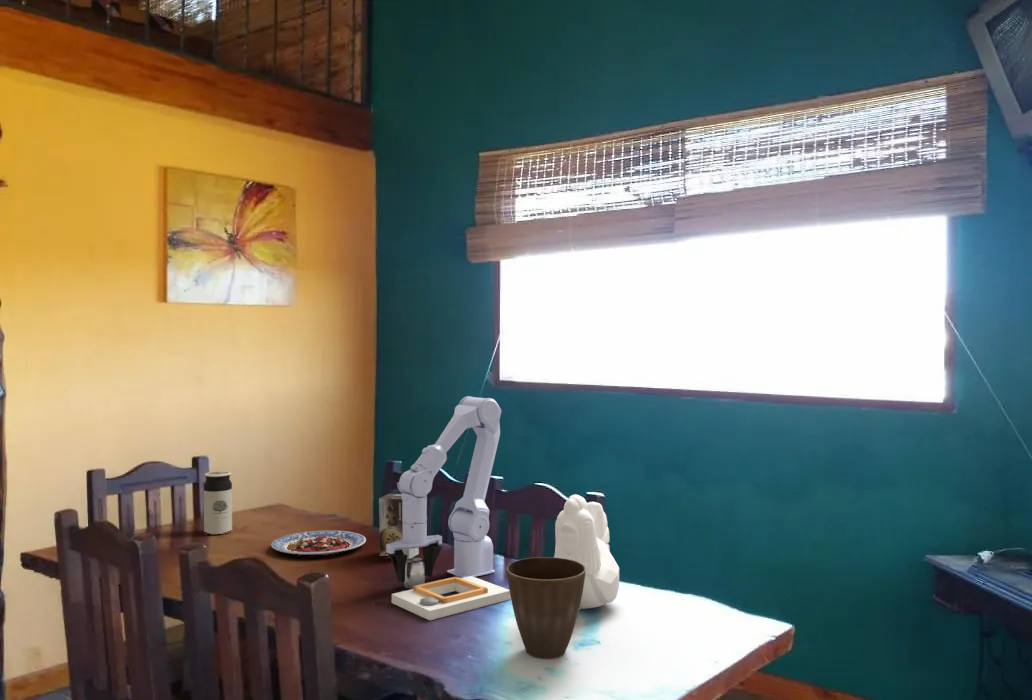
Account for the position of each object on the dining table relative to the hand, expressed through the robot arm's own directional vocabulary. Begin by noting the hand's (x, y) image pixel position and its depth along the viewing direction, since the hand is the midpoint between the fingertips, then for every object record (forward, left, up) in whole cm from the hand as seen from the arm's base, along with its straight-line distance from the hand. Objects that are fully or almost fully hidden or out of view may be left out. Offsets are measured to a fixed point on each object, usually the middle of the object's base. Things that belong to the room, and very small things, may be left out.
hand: (414, 578), depth 200 cm
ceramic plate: (+1, -47, -2) cm, 47 cm away
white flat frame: (0, +15, -2) cm, 15 cm away
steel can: (0, 0, -2) cm, 2 cm away
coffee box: (-12, -26, -2) cm, 29 cm away
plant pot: (+4, +51, -2) cm, 51 cm away
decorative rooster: (-24, +35, -2) cm, 42 cm away
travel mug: (+16, -83, -2) cm, 85 cm away
